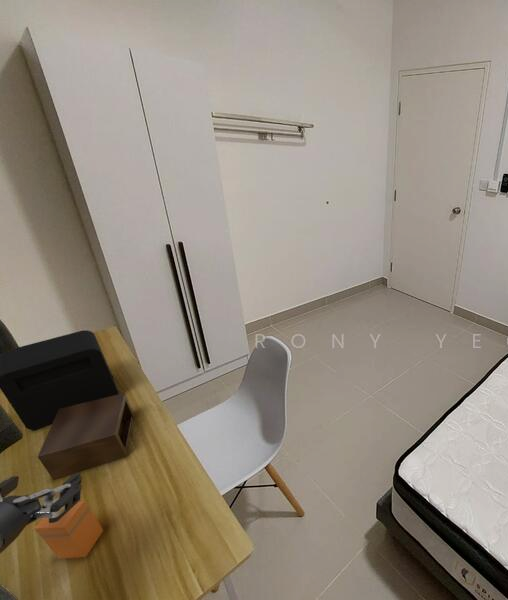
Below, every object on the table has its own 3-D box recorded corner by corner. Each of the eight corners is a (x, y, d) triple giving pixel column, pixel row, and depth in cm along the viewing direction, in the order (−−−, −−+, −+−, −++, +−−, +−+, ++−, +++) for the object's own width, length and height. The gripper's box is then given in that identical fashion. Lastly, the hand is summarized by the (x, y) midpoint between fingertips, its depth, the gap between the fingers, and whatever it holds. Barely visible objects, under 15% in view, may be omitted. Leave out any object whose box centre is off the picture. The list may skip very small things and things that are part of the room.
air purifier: (113, 374, 111) (91, 325, 102) (121, 398, 103) (99, 346, 94) (28, 404, 98) (-6, 350, 89) (29, 433, 90) (-8, 377, 80)
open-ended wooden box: (54, 481, 79) (37, 456, 75) (72, 432, 91) (58, 408, 87) (126, 458, 85) (115, 434, 81) (134, 415, 97) (124, 392, 93)
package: (86, 558, 66) (63, 527, 61) (58, 559, 65) (34, 528, 60) (104, 530, 70) (84, 500, 65) (78, 531, 70) (57, 501, 65)
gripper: (-121, 587, 40) (-9, 503, 56) (28, 569, 45) (94, 496, 60) (-115, 528, 40) (-4, 460, 56) (34, 516, 45) (99, 457, 60)
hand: (47, 479), depth 58 cm, fingers open, 8 cm apart
